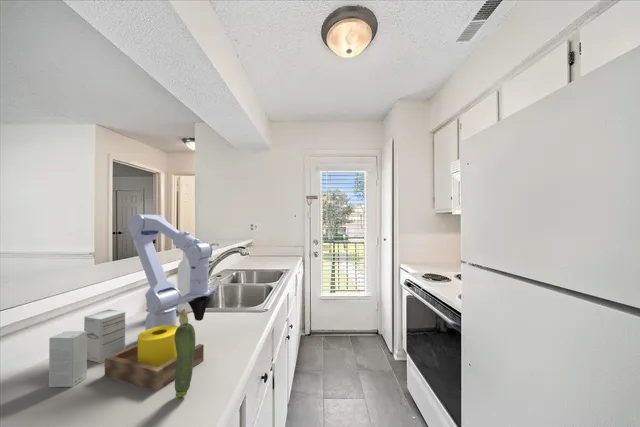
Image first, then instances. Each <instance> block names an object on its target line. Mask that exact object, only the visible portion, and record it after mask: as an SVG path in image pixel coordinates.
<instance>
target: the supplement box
mask: <svg viewBox="0 0 640 427" xmlns="http://www.w3.org/2000/svg"><path fill="white" fill-rule="evenodd" d="M83 320H84V323H83V324H84V330H83V331H87V361H91V362H95V363H98V364H101V363H105V358H106V357H109V356H111V355H113V354H115V353H118V352H120V351H122V350H124V349H126V311H123V310H115V309H105V310H103V311H99V312H94V313H93V314H89V315H85V316H84V318H83Z"/></svg>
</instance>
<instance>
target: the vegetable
mask: <svg viewBox="0 0 640 427" xmlns="http://www.w3.org/2000/svg"><path fill="white" fill-rule="evenodd" d="M178 321H179V324H180V325H179V326H178V328H177V330H176V332H175V346H176V352H177V366H176V372H175V379H174V390H175V397H176V398H178V399H179V398H181V397H185V396H186V395H187V393H188V390H189V389H190V387H191V381H192V378H193V377H192V376H193V369H194V367H193V359H194V351H195V346H196V332H195V328H194V326H193V325H192V324H191V323H189V318H188V313H187V312H186V311H185V309H183V310H182V312H181V313H180V314H179V319H178Z"/></svg>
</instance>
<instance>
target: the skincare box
mask: <svg viewBox="0 0 640 427" xmlns="http://www.w3.org/2000/svg"><path fill="white" fill-rule="evenodd" d="M48 341H49V345H48V346H49V348H48V349H49V351H48V352H49V353H48V354H49V355H48V357H49V358H48V360H49V362H48V373H49V374H48V388H72V387H74V386H77V385H78V384H79V383H81V382H82V381H84V380H85V379H86V378H87V377H88V375H87V373H88V364H87V363H88V360H87V331H84V330H80V331H73V330H72V331H71V330H70V331H63V332H60V333H58V334H55V335H53V336H50V337H49V340H48Z"/></svg>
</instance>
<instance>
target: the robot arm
mask: <svg viewBox="0 0 640 427" xmlns="http://www.w3.org/2000/svg"><path fill="white" fill-rule="evenodd" d="M127 228H128V229H129V232H130V235H131V238H132V240H133V244H134V248H135V250H136V253H137V255H138V257H139V260H140V262H141V265H142V268H143V271H144V273H145V277H146V279H147V282H148V284H149V289H148V290H147V292H146V293H145V294H144V296H145V300H146V308H147V310H148V311H149V312H148V313H147V315H146V317H145V323H144V324H145V327H144V328H145V329H144V331H145V330H147V329H150V328H154V327H158V326H164V325H175V326H177V308H178V305H179V304H186V303H187V302H188V303H189V305H190V306H191V308H192V311H193V312H192V313H193V316H194V320H195V321H199V322H200V321H202V320H204V317H205V316H204V315H205V313H206V309H207V306H208V305H209V303H210V301H211V297H210V295H212V294H217V293H218V287H217V286H211V287H209V277H210V275H209V272H210V271H209V270H210V268H209V262H210V261H209V260H210V258H211V257H212V255H213V247H212V245H211V244H210V243H209V242H208V241H201V239H199V238H196V237H194V236H193V235H192V234H191V232H189V231H185V230H182V231H179V230H178V229H177V228H176V227H174V226H173V225H172V224H171V223H170V222H168V221H167V219H166V217H164V216H163V215H161V214H139V213H134V214H133V215H131V217H130V219H129V222H128V224H127ZM160 233H161V234H162V235H164V236H165V237H168V238H169V239H170V240H172V244H173V245H174V246H175V247H176V248H178V249H179V250H180V251H181V252H182V253H183V252H185V253H186V257H187V259H188V261H189V266H190V293H188V294H186V295H184V296H182V297H181V293H180V291H179V290H178V287H177V286H176V284H175V283H174V282H171V281H169V280H168V278H167V277H166V274H165V271H164V269H163V266H162V263H161V260H160V257H159V255H158V253H157V250H156V247H155V245H154V243H153V242H154V240H155V239H157V238H158V236H159V235H160Z"/></svg>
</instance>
